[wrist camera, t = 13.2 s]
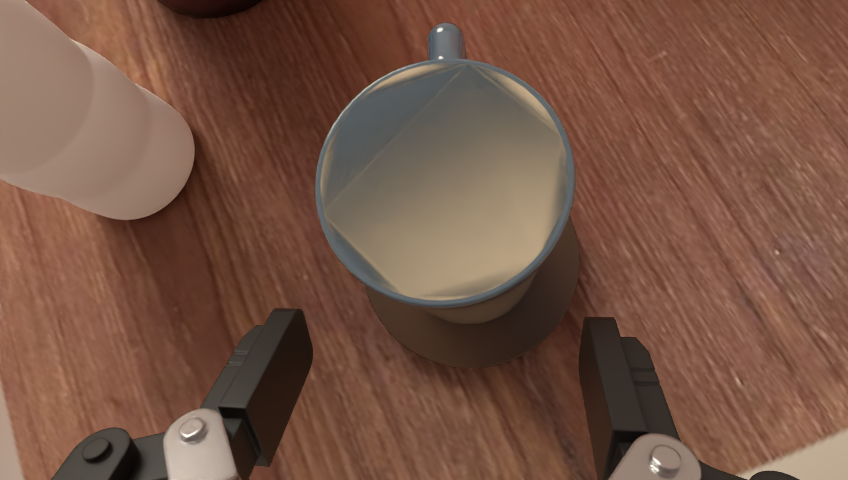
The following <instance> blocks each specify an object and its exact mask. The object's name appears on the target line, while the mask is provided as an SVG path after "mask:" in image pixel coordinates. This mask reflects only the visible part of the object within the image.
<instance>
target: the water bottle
mask: <svg viewBox="0 0 848 480" xmlns="http://www.w3.org/2000/svg"><path fill="white" fill-rule="evenodd" d="M194 153H195V147H194V140H193V136H192V133H191V130H190V128H189V126H188V124H187V122H186V121H185V119H184V118H183V117H182V116H181V115H180V114H179V113H178V112H177V111H176V110H175V109H174V108H173V107H171V106H170V105H169V104H167V103H166V102H165V101H163V100H162V99H160V98H159V97H157V96H156V95H154V94H153V93H151V92H150V91H148V90H146V89H145V88H143V87H141V86H139V85H137V84H135V83H133V82H132V81H131V80H130V79H129V78H128V77H127V76H126V75H125V74H124V73H123V72H122V71H121V70H120V69H118V68H117V67H116V66H115V65H113V64H112V63H111V62H109V61H108V60H107V59H105V58H104V57H102V56H101V55H100V54H98V53H96V52H95V51H93V50H92V49H90V48H88V47H86V46H84V45H83V44H80V43H78V42H76V41H74V40H72V39H70V38H69V37H68V36H67V35H66V34H65V33H64V32H62V31H61V30H60V29H59V28H58V27H57V26H56V25H54V24H53V23H52V22H51V21H50V20H48V19H47V18H46V17H45V16H44V15H43V14H41V13H40V12H39V11H38V10H36V9H35V8H34V7H33V6H31V5H30V4H29V3H28V2H26V1H25V0H0V180H2V181H5V182H7V183H9V184H12V185H14V186H17V187H19V188H22V189H25V190H28V191H31V192H35V193H38V194H42V195H46V196H51V197H57V198H61V199H63V200H65V201H67V202H69V203H71V204H73V205H75V206H77V207H80V208H82V209H85V210H87V211H90V212H93V213H95V214H98V215H101V216H105V217H108V218H112V219H118V220H133V219H139V218H143V217H146V216H149V215H151V214H154V213H156V212H157V211H159V210H161V209H162V208H164V207H165V206H167V205H168V204H169V203H170V202H171V201H172V200H173V199H174V198H175V197H176V196H177V195H178V194H179V193H180V191H181V190H182V189H183V187H184V185H185V184H186V182H187V180H188V178H189V176H190V173H191V170H192V167H193V162H194Z"/></svg>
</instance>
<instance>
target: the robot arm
mask: <svg viewBox="0 0 848 480" xmlns="http://www.w3.org/2000/svg"><path fill="white" fill-rule="evenodd" d="M312 360H313V347H312V343H311V339H310V335H309V332H308V328H307V324H306V321H305V317H304V314H303V311H302V310H301V309H286V308H275V309H274V310H273V311H272V312H271V314H270V316H269V317H268V319H267V321H266V323H265V324H264V325H256V326H255V327H254V328H253V329H252V330H251V331H249V332H248V333H247V334H246V335H245V336H244V337H242V339H241V341H240V342H239V344H238V346H237V347H236V349H235V351H234V354H232V356H231V357H230V359H229V360H228V362H227V366H225V367H224V369H223V370H222V372H221V374H220V375H219V377H218V379H217V380H216V382H215V384H214V385H213V387H212V388H211V390H210V392H209V393H208V395H207V397H206V398H205V400H204V402H203V403H202V405H201V407H200V408H199V409H197V410H193V411H191V412H188V413H186V414H184V415H183V416H181V417H180V418H178V419H177V420H176V421H175V422H174V423H173V424H172V425H171V426H170V427H169V428H168V430H167V432H163V433H159V434H155V435H150V436H146V437H142V438H137V439H133V440H132V438H131V437H130V435H129V434H128V432H127V431H126V430H124V429H122V428H107V429H103V430H100V431H98V432H96V433H94V434H92V435H90V436H88V437H87V438H85V439H84V440H83V441H82V442H80V443H79V444H78V445H77V446H76V447H75V448H74V449H73V451H72V452H71V453H70V454H69V456H68V457H67V459H66V460H65V461H64V463H63V464H62V465H61V467H60V468H59V469H58V471H57V472H56V474H55V475H54V476H53V478H52V479H51V480H250V479H249V477H250V475H251V473H252V470H253V468H254V466H264V467H270V465H271V462H272V460H273V457H274V455H275V452H276V450H277V448H278V445H279V443H280V440H281V438H282V436H283V433H284V431H285V428H286V426H287V424H288V421H289V419H290V416H291V414H292V411H293V409H294V407H295V404H296V402H297V399H298V397H299V395H300V392H301V390H302V387H303V385H304V382H305V380H306V378H307V375H308V373H309V370H310V368H311V365H312ZM579 377H580V384H581V389H582V395H583V400H584V406H585V411H586V417H587V422H588V428H589V433H590V439H591V445H592V450H593V456H594V461H595V467H596V472H597V478H598V480H747V479H744V478H741V477H738V476H735V475H732V474H729V473H726V472H723V471H720V470H717V469H715V468H712V467H710V466H708V465H706V464H705V463H703V462H701V461H700V460H698V459H697V457H696V456H695V455H694V453H693V452H692V451H691V450H690V449H689V448H688V447H687V446H686V445H685V444H683V443H682V442H681V440H680V438H679V436H678V433H677V431H676V428H675V425H674V422H673V419H672V416H671V413H670V411H669V408H668V405H667V402H666V399H665V396H664V394H663V391H662V388H661V385H659V379H658V376H657V374H656V372H655V368H654V365H653V362H652V359H651V357H650V354H649V352H648V350H647V349H646V348H645V347H644V346H643V345H642V344H641V343H640V342H639V341H638V340H637V338H636V337H620V334H619V330H618V327H617V323H616V320H615V318H614V317H585V318H584V322H583V330H582V338H581V345H580V353H579ZM750 480H799V479H797V478H795V477H793V476H790V475H788V474H785V473H782V472H777V471H762V472H759V473H756V474H755V475H753V476H752V477H751V478H750Z"/></svg>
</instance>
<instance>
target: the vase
mask: <svg viewBox="0 0 848 480" xmlns="http://www.w3.org/2000/svg"><path fill="white" fill-rule="evenodd" d="M159 1H160V2H162V3H163V4H164V5H166V6H167V7H168V8H170V9H172V10H174V11H176V12H178V13H180V14H184V15H187V16H191V17H199V18H216V17H221V16H227V15H231V14H234V13H237V12H240V11H243V10H245V9H247V8H249V7H251V6H253V5H255V4H257V3H258V2H260V1H261V0H159Z"/></svg>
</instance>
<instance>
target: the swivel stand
mask: <svg viewBox="0 0 848 480" xmlns="http://www.w3.org/2000/svg"><path fill="white" fill-rule="evenodd" d="M579 265H580V255H579V245H578V240H577V236H576V231H575V228H574V226H573V223H572V220H571V218H570V216H569V219H568V221H567V224H566V226H565V228H564V231H563V233H562V235H561V237H560V239H559V241H558V242H557V244H556V246H555V247H554V249H553V250H552V252H551V254H550V255H549V257H548V258H547V259H546V260H545V262H544V263H543V264H542V265H541V266H540V268H539V270H538V272H537V274H536V276H535V277H534V279H533V281H532V283H531V285H530V287H529V289H528V290H527V292H526V294H525V295H524V297H523V298H522V299H521V300H520V302H519V303H518V304H517V305H516V306H514V307H513V308H512V309H511V310H510V311H508V312H507V313H505V314H504V315H502V316H500V317H498V318H496V319H494V320H491V321H488V322H484V323H480V324H457V323H452V322H448V321H445V320H442V319H440V318H438V317H436V316H434V315H432V314H430V313H428V312H426V311H424V310H422V309H420V308H417V307H412V306H409V305H406V304H403V303H399V302H396V301H394V300H392V299H390V298H388V297H386V296H383V295H381V294H379V293H377V292H375V291H374V290H372V289H371V288H369V287H368V286H366V285H365V287H366V291H367V295H368V297H369V300H370V302H371V305H372V307H373V309H374V311H375V313H376V314H377V316H378V318H379V320H380V321H381V323H382V324H383V325H384V326H385V328H386V329H387V330H388V332H389V333H390V334H391V335H392V336H393V337H394V338H395V339H396V340H397V341H398V342H400V343H401V344H402V345H404V346H405V347H406V348H407V349H409V350H410V351H412V352H414V353H415V354H417V355H419V356H421V357H422V358H425V359H427V360H430V361H432V362H435V363H438V364H442V365H446V366H450V367H458V368H484V367H490V366H496V365H499V364H502V363H506V362H509V361H511V360H514V359H516V358H518V357H520V356H522V355H524V354H526V353H527V352H529V351H530V350H532V349H534V348H535V347H536V346H538V345H539V344H540V343H541V342H542V341H544V340H545V339H546V338H547V337H548V336H549V335H550V334H551V333H552V332H553V330H554V329H555V328H556V327H557V326H558V324H559V323H560V321H561V320H562V318H563V317H564V315H565V314H566V312H567V310H568V308H569V306H570V304H571V302H572V299H573V296H574V293H575V290H576V287H577V282H578V276H579Z"/></svg>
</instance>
